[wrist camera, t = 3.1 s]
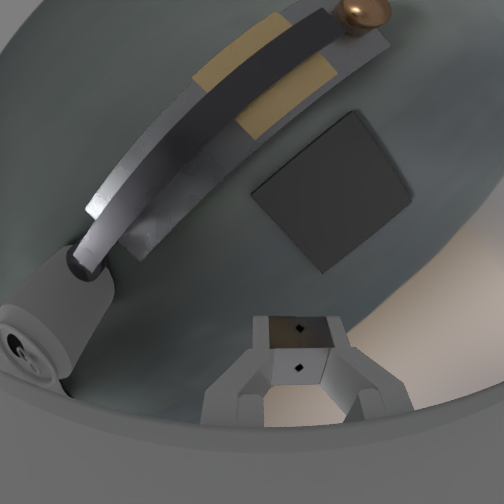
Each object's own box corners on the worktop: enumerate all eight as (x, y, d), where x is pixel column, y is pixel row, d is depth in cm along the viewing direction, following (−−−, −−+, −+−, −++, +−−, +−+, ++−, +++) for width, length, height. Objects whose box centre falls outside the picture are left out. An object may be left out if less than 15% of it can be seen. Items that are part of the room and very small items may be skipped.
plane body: (151, 245, 23) (119, 294, 17) (102, 197, 21) (53, 231, 15) (377, 50, 16) (427, 31, 9) (325, -5, 14) (355, -47, 7)
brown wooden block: (253, 135, 17) (254, 140, 13) (204, 86, 15) (191, 77, 12) (319, 82, 15) (338, 73, 11) (270, 32, 14) (276, 10, 10)
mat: (320, 270, 24) (322, 273, 24) (250, 194, 21) (250, 196, 21) (408, 199, 21) (412, 201, 21) (350, 111, 18) (353, 111, 18)
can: (66, 226, 22) (-17, 298, 12) (129, 269, 24) (69, 367, 14) (51, 279, 25) (-11, 353, 14) (105, 317, 27) (58, 405, 16)
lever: (96, 278, 16) (88, 289, 15) (70, 253, 15) (60, 262, 14) (344, 43, 10) (352, 38, 9) (310, 9, 10) (315, 1, 8)
